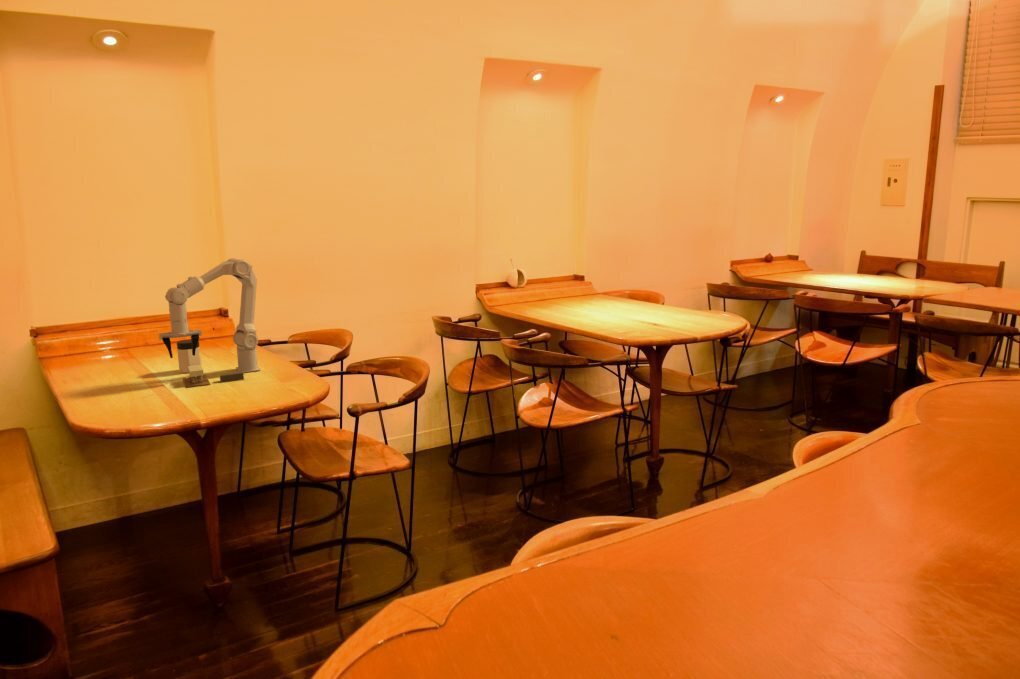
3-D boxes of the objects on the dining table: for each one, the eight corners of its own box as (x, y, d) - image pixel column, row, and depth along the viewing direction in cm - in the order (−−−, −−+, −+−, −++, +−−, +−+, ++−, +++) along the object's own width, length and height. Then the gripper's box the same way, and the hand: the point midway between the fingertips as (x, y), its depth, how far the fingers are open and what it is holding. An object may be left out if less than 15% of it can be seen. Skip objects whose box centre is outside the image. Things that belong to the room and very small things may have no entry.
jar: (201, 372, 290) (198, 342, 287) (179, 374, 287) (175, 344, 285) (202, 367, 298) (199, 338, 296) (180, 369, 295) (177, 340, 293)
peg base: (183, 379, 279) (182, 370, 278) (205, 376, 282) (204, 368, 282) (186, 387, 267) (185, 378, 266) (210, 384, 270) (209, 375, 270)
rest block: (220, 380, 276) (219, 374, 275) (242, 377, 280) (242, 371, 279) (221, 382, 273) (220, 376, 273) (243, 379, 277) (243, 373, 277)
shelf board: (203, 375, 271) (203, 370, 270) (190, 376, 269) (189, 371, 268) (200, 369, 279) (200, 364, 279) (187, 371, 277) (187, 366, 277)
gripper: (158, 323, 264) (162, 360, 266) (201, 319, 271) (205, 355, 273) (156, 320, 270) (160, 357, 272) (199, 317, 277) (202, 352, 279)
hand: (182, 356), depth 273 cm, fingers open, 7 cm apart
